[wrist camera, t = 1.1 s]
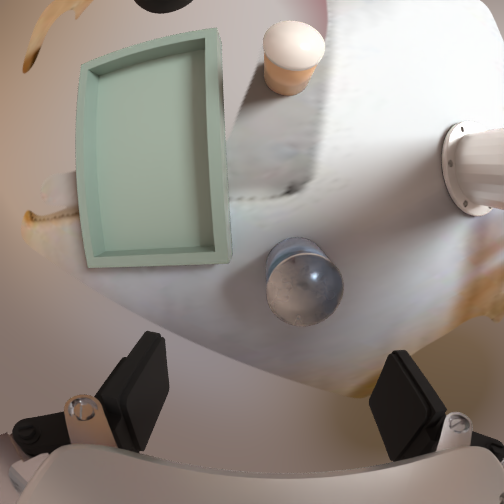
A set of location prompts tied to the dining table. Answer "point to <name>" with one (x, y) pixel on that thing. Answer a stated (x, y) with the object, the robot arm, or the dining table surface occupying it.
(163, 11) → the cola bottle
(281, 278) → the tin
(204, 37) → the tray
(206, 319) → the dining table surface
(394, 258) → the dining table surface
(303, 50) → the jar
